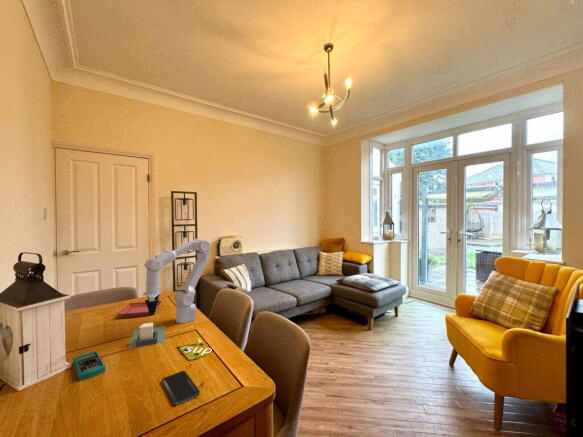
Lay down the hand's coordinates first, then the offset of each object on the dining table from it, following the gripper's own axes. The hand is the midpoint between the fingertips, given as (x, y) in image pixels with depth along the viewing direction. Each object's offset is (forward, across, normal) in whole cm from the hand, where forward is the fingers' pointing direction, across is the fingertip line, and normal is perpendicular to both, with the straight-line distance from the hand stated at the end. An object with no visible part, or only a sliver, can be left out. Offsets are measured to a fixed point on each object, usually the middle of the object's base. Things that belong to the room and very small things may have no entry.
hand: (152, 311), depth 119 cm
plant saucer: (+10, -30, -7) cm, 32 cm away
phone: (+10, +48, +11) cm, 50 cm away
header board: (+9, +7, -1) cm, 12 cm away
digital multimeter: (+10, +23, -19) cm, 31 cm away
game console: (+10, +24, +17) cm, 31 cm away
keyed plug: (+8, +12, -1) cm, 15 cm away
